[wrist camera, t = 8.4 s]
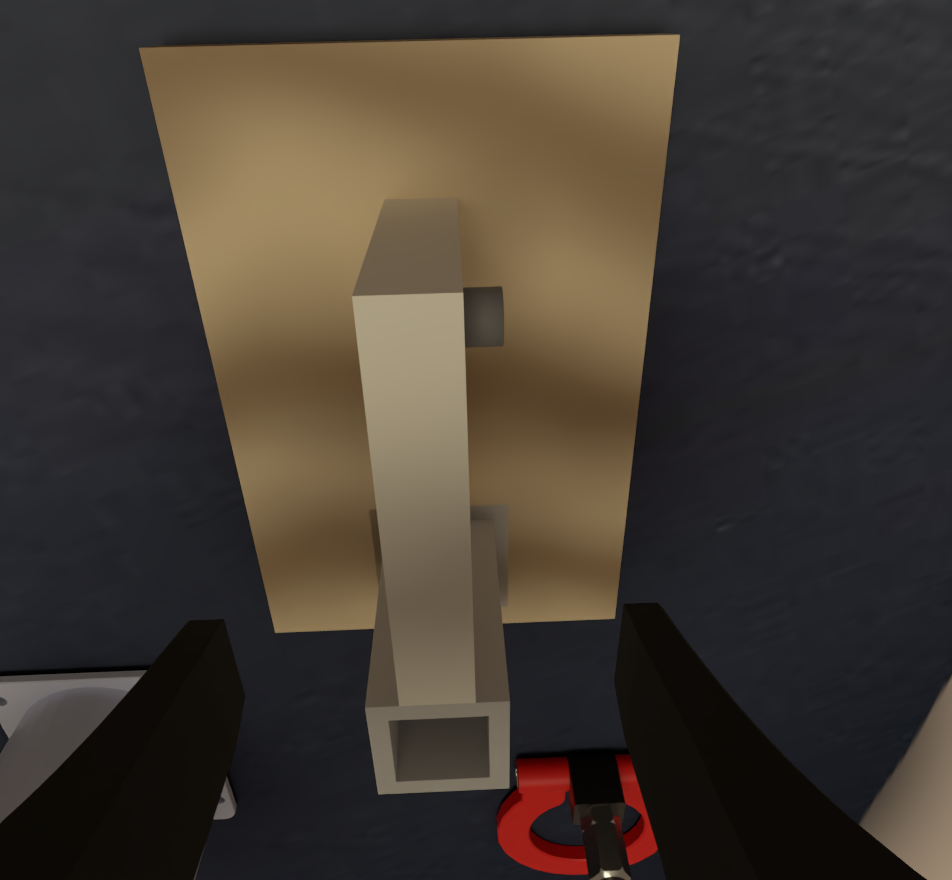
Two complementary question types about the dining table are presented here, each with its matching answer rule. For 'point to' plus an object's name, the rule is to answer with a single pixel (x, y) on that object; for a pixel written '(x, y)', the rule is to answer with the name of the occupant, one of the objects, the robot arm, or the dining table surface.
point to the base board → (483, 265)
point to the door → (429, 511)
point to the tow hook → (577, 815)
